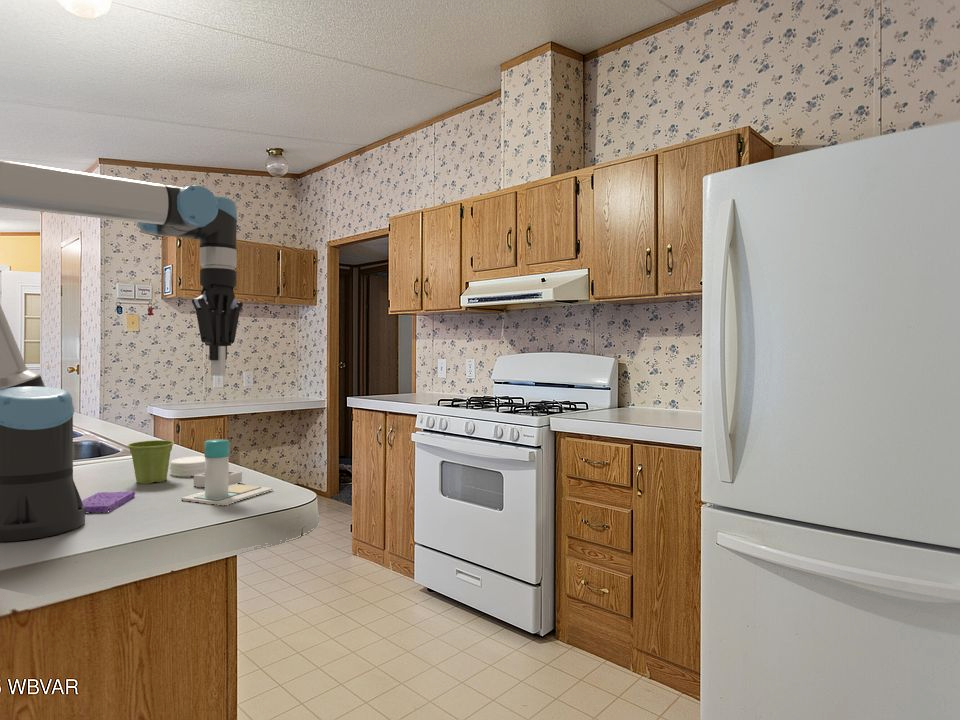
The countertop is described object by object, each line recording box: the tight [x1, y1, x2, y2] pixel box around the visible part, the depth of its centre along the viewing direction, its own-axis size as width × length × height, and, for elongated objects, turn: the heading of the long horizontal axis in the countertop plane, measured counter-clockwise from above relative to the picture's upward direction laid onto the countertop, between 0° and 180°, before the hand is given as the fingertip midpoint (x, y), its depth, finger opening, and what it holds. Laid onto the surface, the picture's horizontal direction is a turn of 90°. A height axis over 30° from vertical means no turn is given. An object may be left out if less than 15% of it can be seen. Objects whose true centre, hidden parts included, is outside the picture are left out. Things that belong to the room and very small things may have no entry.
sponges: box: [82, 490, 136, 513], centre depth 121 cm, size 7×13×2 cm, turn 9°
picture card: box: [180, 483, 274, 506], centre depth 129 cm, size 14×11×1 cm
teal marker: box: [204, 438, 230, 498], centre depth 126 cm, size 5×5×11 cm
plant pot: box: [127, 439, 175, 485], centre depth 142 cm, size 9×9×9 cm
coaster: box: [169, 455, 205, 478], centre depth 152 cm, size 10×10×4 cm
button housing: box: [193, 470, 243, 488], centre depth 139 cm, size 7×7×2 cm
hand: (218, 375), depth 138 cm, fingers closed
